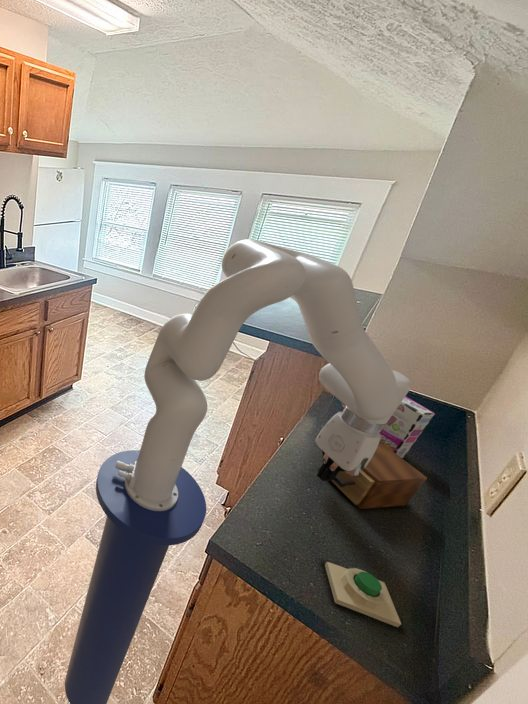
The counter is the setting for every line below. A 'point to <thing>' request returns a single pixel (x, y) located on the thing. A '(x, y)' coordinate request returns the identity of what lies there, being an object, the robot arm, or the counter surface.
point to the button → (368, 583)
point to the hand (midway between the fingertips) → (324, 477)
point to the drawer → (354, 485)
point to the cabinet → (390, 480)
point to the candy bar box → (405, 426)
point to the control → (360, 595)
